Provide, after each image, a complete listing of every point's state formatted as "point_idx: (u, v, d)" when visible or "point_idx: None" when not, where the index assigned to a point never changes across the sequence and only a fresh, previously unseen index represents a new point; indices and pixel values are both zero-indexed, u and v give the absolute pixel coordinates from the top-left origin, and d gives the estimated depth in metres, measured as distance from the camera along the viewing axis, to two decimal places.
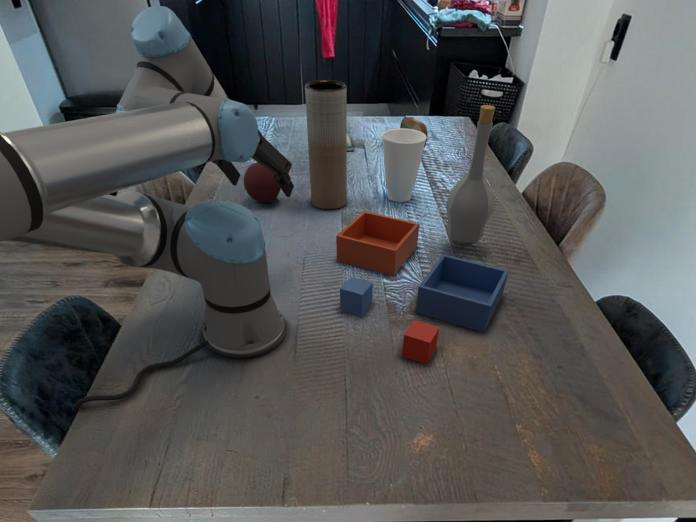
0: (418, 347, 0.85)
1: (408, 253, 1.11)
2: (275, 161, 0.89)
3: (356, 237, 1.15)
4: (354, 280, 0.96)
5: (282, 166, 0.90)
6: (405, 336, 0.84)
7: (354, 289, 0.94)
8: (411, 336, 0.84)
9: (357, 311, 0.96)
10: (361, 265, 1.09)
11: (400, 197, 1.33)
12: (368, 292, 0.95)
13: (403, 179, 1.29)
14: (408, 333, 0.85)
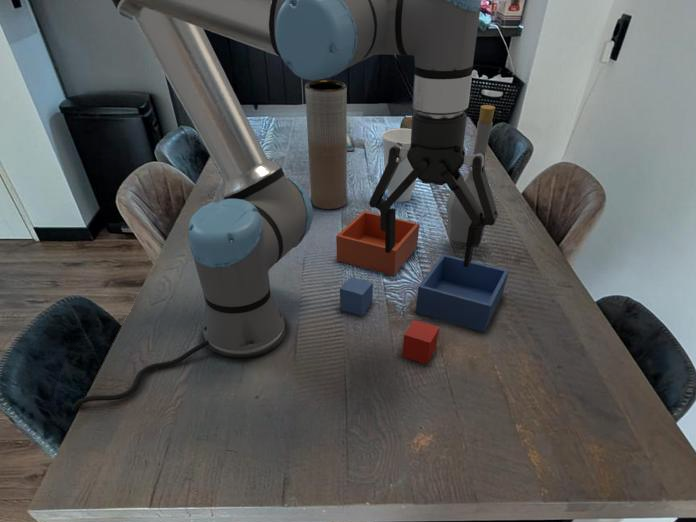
0: (418, 347, 0.85)
1: (408, 253, 1.11)
2: (489, 199, 0.69)
3: (356, 237, 1.15)
4: (354, 280, 0.96)
5: (492, 210, 0.70)
6: (405, 336, 0.84)
7: (354, 289, 0.94)
8: (411, 336, 0.84)
9: (357, 311, 0.96)
10: (361, 265, 1.09)
11: (400, 197, 1.33)
12: (368, 292, 0.95)
13: (403, 179, 1.29)
14: (408, 333, 0.85)
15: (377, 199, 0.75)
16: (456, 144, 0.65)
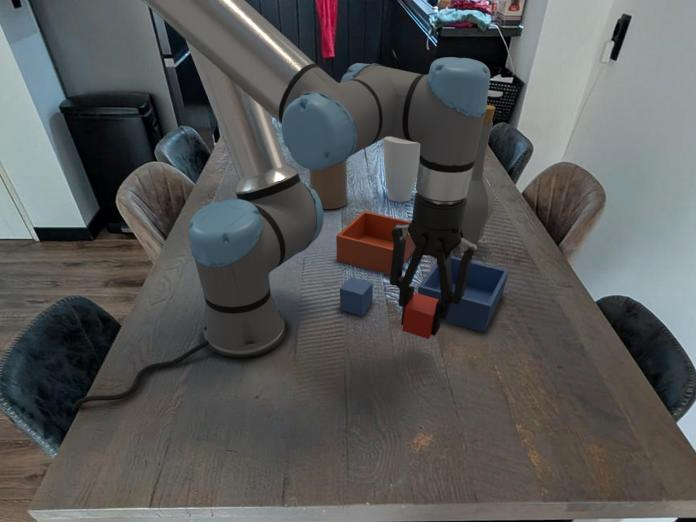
0: (420, 321, 0.81)
1: (408, 253, 1.11)
2: (463, 284, 0.75)
3: (356, 237, 1.15)
4: (354, 280, 0.96)
5: (462, 293, 0.76)
6: (406, 309, 0.80)
7: (354, 289, 0.94)
8: (413, 309, 0.80)
9: (357, 311, 0.96)
10: (361, 265, 1.09)
11: (400, 197, 1.33)
12: (368, 292, 0.95)
13: (403, 179, 1.29)
14: (409, 306, 0.81)
15: (395, 277, 0.79)
16: (454, 227, 0.68)
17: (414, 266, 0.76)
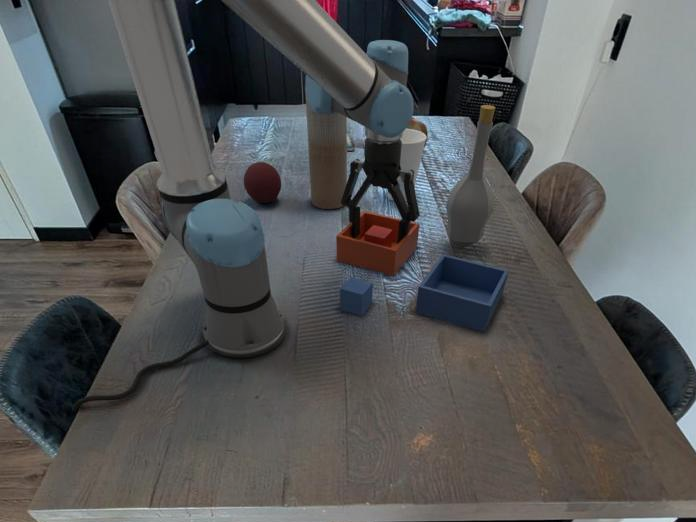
0: None
1: (408, 253, 1.11)
2: (413, 203, 1.01)
3: (356, 237, 1.15)
4: (354, 280, 0.96)
5: (415, 211, 1.02)
6: (365, 235, 1.09)
7: (354, 289, 0.94)
8: (370, 235, 1.08)
9: (357, 311, 0.96)
10: (361, 265, 1.09)
11: None
12: (368, 292, 0.95)
13: None
14: (368, 233, 1.09)
15: (346, 199, 1.06)
16: (393, 161, 0.96)
17: (362, 192, 1.04)
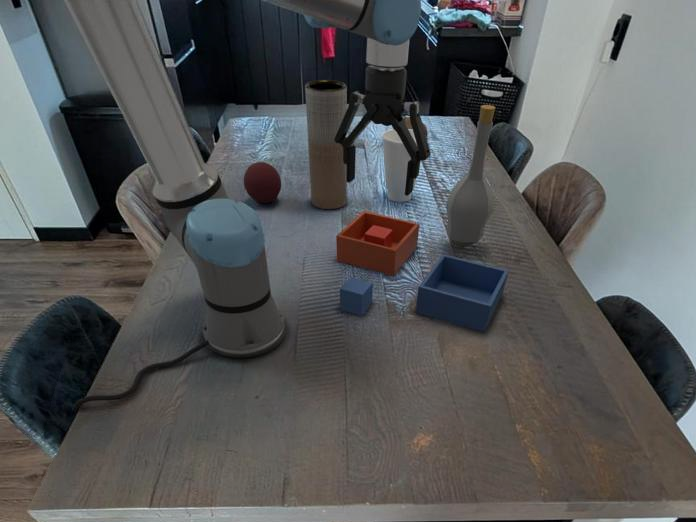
0: None
1: (408, 253, 1.11)
2: (422, 139, 0.91)
3: (356, 237, 1.15)
4: (354, 280, 0.96)
5: (425, 148, 0.92)
6: (365, 235, 1.09)
7: (354, 289, 0.94)
8: (370, 235, 1.08)
9: (357, 311, 0.96)
10: (361, 265, 1.09)
11: (400, 197, 1.33)
12: (368, 292, 0.95)
13: (403, 179, 1.29)
14: (368, 233, 1.09)
15: (340, 136, 0.97)
16: (397, 92, 0.87)
17: (360, 129, 0.94)
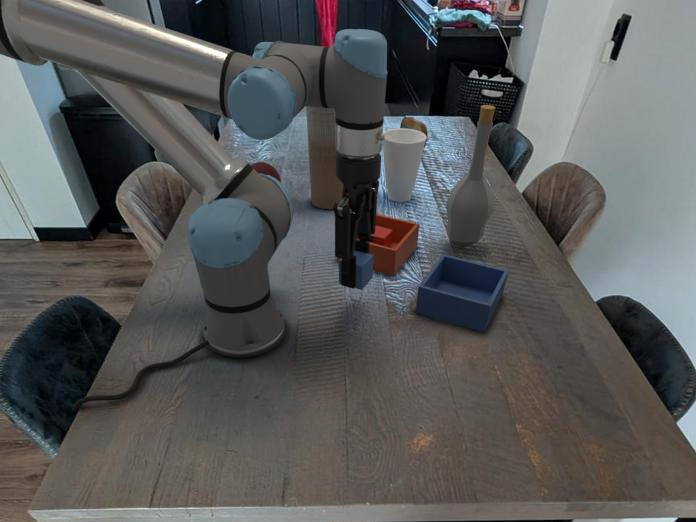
0: None
1: (408, 253, 1.11)
2: (336, 239, 0.82)
3: (356, 237, 1.15)
4: (354, 252, 0.92)
5: (337, 248, 0.84)
6: None
7: None
8: None
9: (356, 285, 0.92)
10: None
11: (400, 197, 1.33)
12: (368, 265, 0.91)
13: (403, 179, 1.29)
14: None
15: None
16: (339, 178, 0.78)
17: None
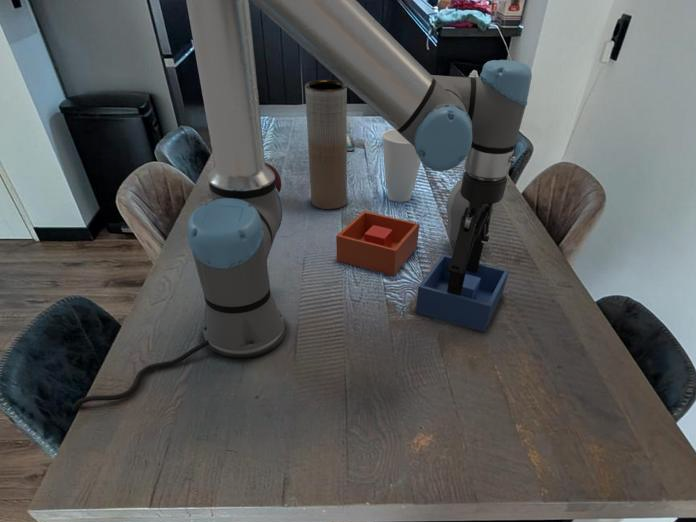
0: None
1: (408, 253, 1.11)
2: (455, 252, 0.84)
3: (356, 237, 1.15)
4: None
5: (453, 262, 0.85)
6: (365, 235, 1.09)
7: (464, 284, 0.95)
8: (370, 235, 1.08)
9: None
10: (361, 265, 1.09)
11: (400, 197, 1.33)
12: (476, 287, 0.96)
13: (403, 179, 1.29)
14: (368, 233, 1.09)
15: None
16: (466, 197, 0.82)
17: None
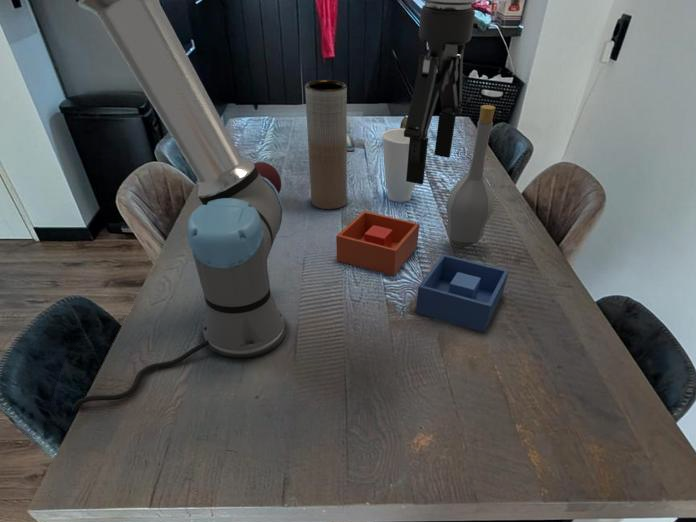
0: None
1: (408, 253, 1.11)
2: (412, 107, 0.68)
3: (356, 237, 1.15)
4: (462, 275, 0.97)
5: (410, 120, 0.68)
6: (365, 235, 1.09)
7: (464, 284, 0.95)
8: (370, 235, 1.08)
9: None
10: (361, 265, 1.09)
11: (400, 197, 1.33)
12: (476, 287, 0.96)
13: (403, 179, 1.29)
14: (368, 233, 1.09)
15: None
16: (425, 37, 0.66)
17: None
